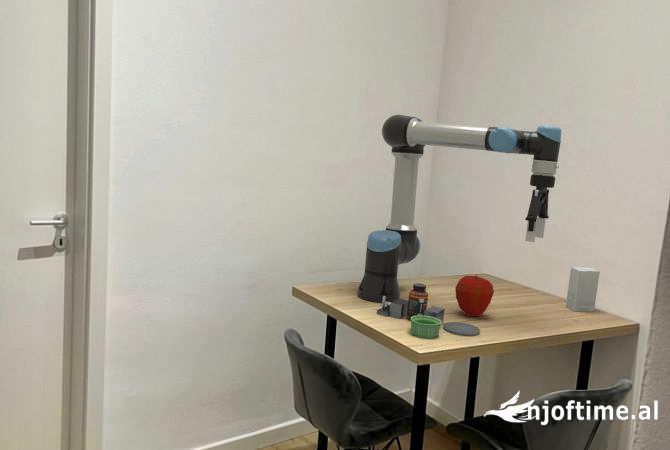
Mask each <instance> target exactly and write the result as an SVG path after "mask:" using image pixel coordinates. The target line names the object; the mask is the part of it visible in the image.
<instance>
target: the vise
mask: <svg viewBox="0 0 670 450" xmlns="http://www.w3.org/2000/svg"><path fill="white" fill-rule="evenodd" d="M385 298H386V296H383V300H382V302H381V303H382V304H381V308H379V309H377V310H376V315H380V316H384V317H393V318H396V319H399V320H400V319H403V318H406V317H407V310H408V301H409V299H404V298H401V297H400V298H399V299H397V300H395V301H392V302H387V301H385ZM445 311H446V309H445V308H444V307H440V306H434V305H432V306H430V307H427V309H426V310H424V316H430V317H434V318H437V319H439V320H441V324H444V317H445Z"/></svg>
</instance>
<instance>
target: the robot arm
mask: <svg viewBox="0 0 670 450" xmlns="http://www.w3.org/2000/svg"><path fill="white" fill-rule="evenodd" d="M381 135H382V138H383V140H384V142H385V143H386V144H387V145H388V146H389V147H391V155H393V157H394V158H395V159H394V167H393V169H394V170H393V172H394V173H393V185H392V196H391V210H390V211H391V213H390V222H389V223H388V224H387V225H385V229H382V230H375V231H372V232H370V233H369V234H368V236H367V240H366V241H367V242H366V251H365V262H364V263H365V264H364V273H363V276H362V279H361V281H360V283H359V286H358V288H357V297H359V298H360V299H363V300H365V301H369V302H373V303H374V302H375V303H382V300H383V296H386V298H385V301H387V302H392V301H395V300H397V299H399V298H400V299H401V291H400V286H399V281H398V271H399V265H402V264H403V265H404V264H408V263H411V261H413V260H415V259H416V258H417V256H418V255H419V253H420V250H421V241H420V238H419V236H418V228H417V226H416V225H415V224H414V222H415V210H416V198H417V197H416V196H417V184H418V175H419V174H418V173H419V172H418V171H419V162H420V161H419V160H420V159H421V158H422V157H423V156H424V151H425V150H424V149H425V147H426V146H432V147H433V146H437V147H445V148H454V149H455V148H457V149H466V150H478V151H487V152H497V153H504V154H515V155H529V156H533V158H532V165H531V173H532V174H531V175H530V180H529V186H531V187H535V189H533V190H532V193H531V200H530V202H529V207H528V211H527V215H526V217H525V219H524V220H525V221H527V226H526V231H525V232H526V233H525V242H530V243H535V240H536V238H541V239H543V238H544V236H545V235H544V234H545V227H546V220H547V219H549V218H550V217H549V213H548V212H549V194H550V189H553V188H555V185H556V184H555V183H556V177H555V175H556V174H557V169H559V168H560V166H559V165H558V162H559V156H560V148H561V143H562V139H561V138H562V129H561V128H560V126H551V125H539V126H537V128H536V131H526V130H517V129H512V128H509V127H506V126H500V127H498V126H497V127H496V126H484V125H470V124H459V123H458V124H456V123H444V122H434V121H433V122H431V121H424V120H422V119H420V118H418V117H416V116H409V115H404V114H393V115H391V116H389V117H388V118H387V119H386V120H385V121H384V123H383V124H382V128H381ZM548 188H549V189H548Z"/></svg>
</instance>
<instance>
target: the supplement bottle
mask: <svg viewBox="0 0 670 450" xmlns="http://www.w3.org/2000/svg"><path fill="white" fill-rule="evenodd" d="M426 290H427V285H426V284H424V283H419V282H418V283H413V284H412V289H411V290H410V291H409V293H408V300H409V301H408V310H407V316H406V318H407V320H409V321H411V317H412V316H417V315H423V316H424V310H426V309H428V300H429V298H428V297H429V293H428V292H427V291H426Z"/></svg>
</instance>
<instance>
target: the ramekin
mask: <svg viewBox="0 0 670 450" xmlns="http://www.w3.org/2000/svg"><path fill="white" fill-rule="evenodd" d="M441 325H442V323H441V320H439V319H437V318H434V317H430V316H423V315H417V316H412V317H411V320H410V333H411V334H412V335H413V336H415V337H419V338H422V339H423V338H424V339H434V338H438V337H439V333H440V329H441Z"/></svg>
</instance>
